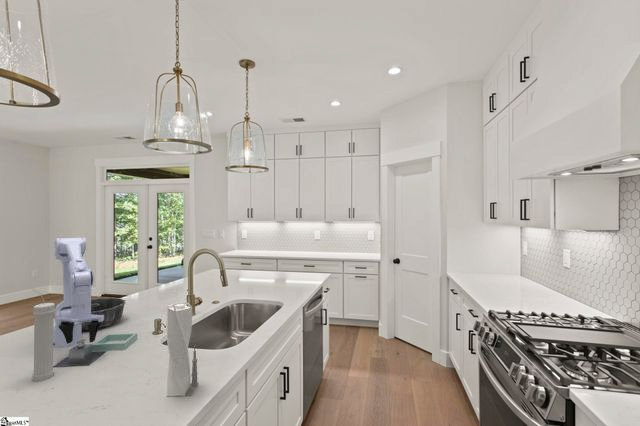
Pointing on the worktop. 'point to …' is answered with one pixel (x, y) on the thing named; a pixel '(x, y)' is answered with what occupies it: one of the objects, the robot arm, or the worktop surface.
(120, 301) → the bundt pan
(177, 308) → the skyscraper
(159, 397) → the worktop surface
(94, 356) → the square lid with knob
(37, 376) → the pipe
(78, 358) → the grey block
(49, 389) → the worktop surface
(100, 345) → the bin
